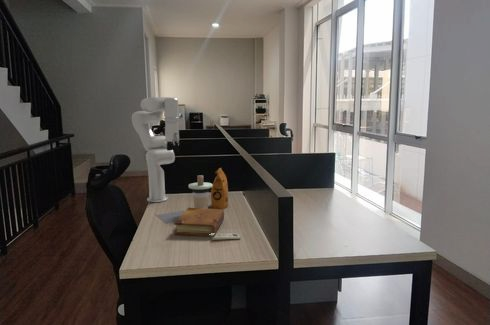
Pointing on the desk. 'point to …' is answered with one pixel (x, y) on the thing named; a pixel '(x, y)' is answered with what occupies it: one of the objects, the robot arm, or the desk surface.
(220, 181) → the coffee package
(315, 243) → the desk surface
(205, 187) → the lid
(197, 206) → the coffee cup
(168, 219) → the mat
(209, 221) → the diary
